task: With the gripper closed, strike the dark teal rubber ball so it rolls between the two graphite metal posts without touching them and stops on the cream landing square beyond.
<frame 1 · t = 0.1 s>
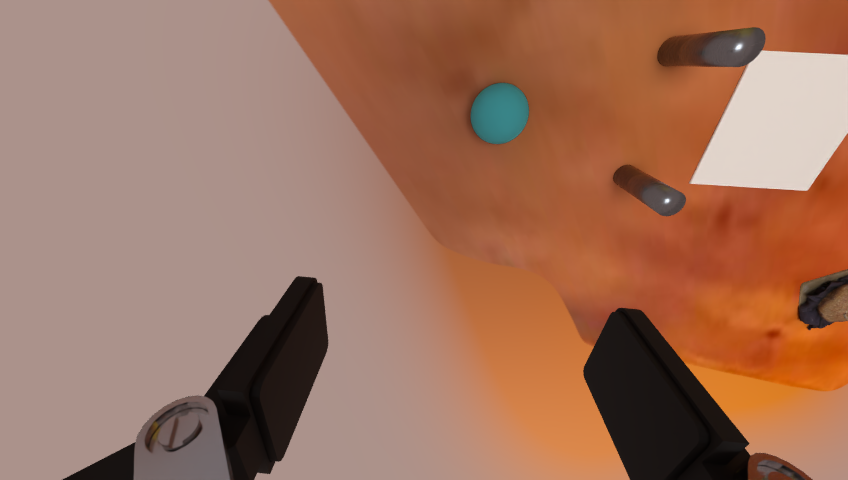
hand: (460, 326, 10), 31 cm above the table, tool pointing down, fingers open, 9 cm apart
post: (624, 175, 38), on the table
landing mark: (782, 126, 35), on the table
ball: (499, 114, 33), on the table
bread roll: (825, 295, 46), on the table
post 2: (671, 51, 32), on the table
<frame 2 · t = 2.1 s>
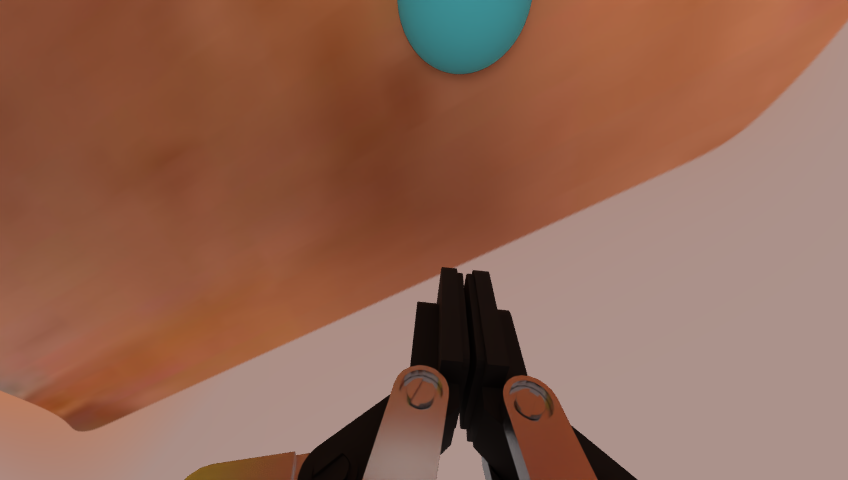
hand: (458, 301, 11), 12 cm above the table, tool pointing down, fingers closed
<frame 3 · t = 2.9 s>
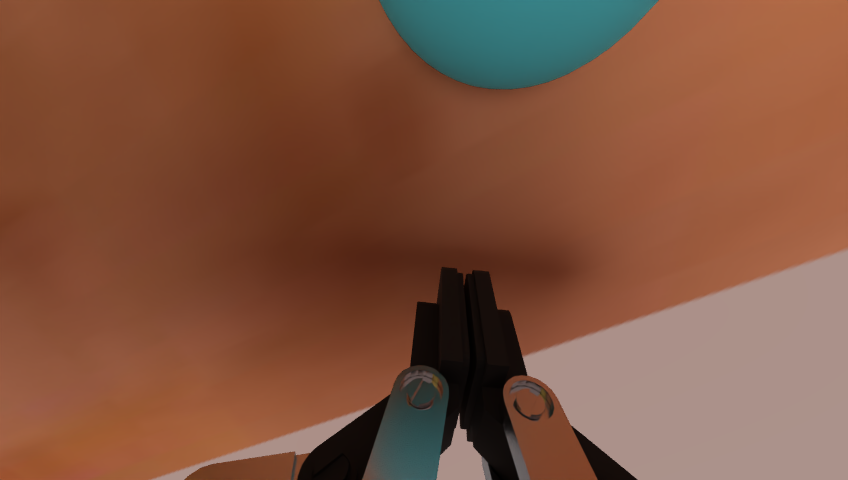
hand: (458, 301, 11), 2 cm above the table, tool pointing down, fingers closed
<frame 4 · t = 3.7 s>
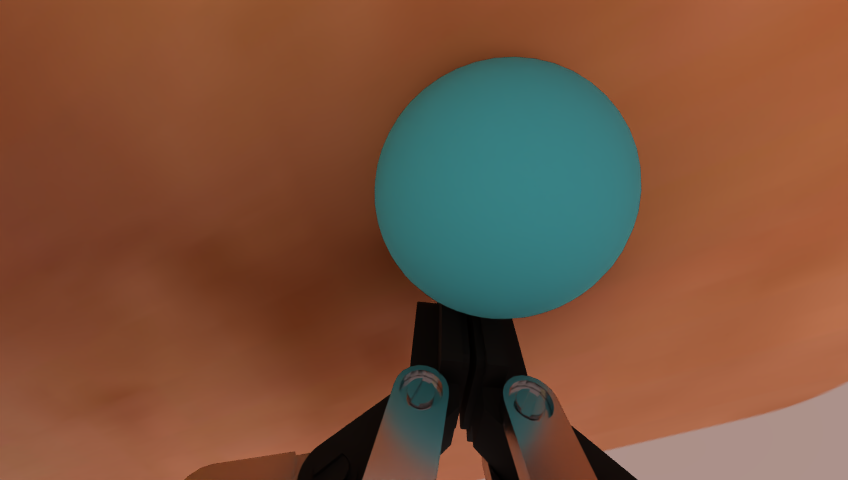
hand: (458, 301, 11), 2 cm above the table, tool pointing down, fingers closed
ball: (495, 195, 8), on the table
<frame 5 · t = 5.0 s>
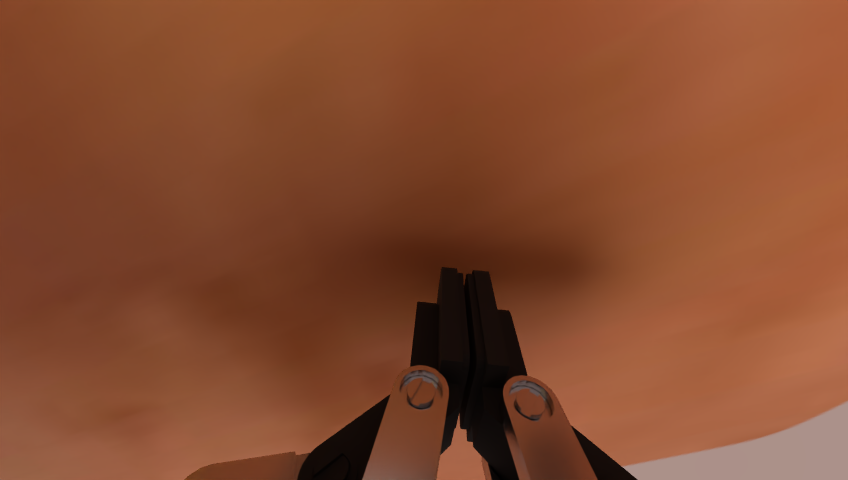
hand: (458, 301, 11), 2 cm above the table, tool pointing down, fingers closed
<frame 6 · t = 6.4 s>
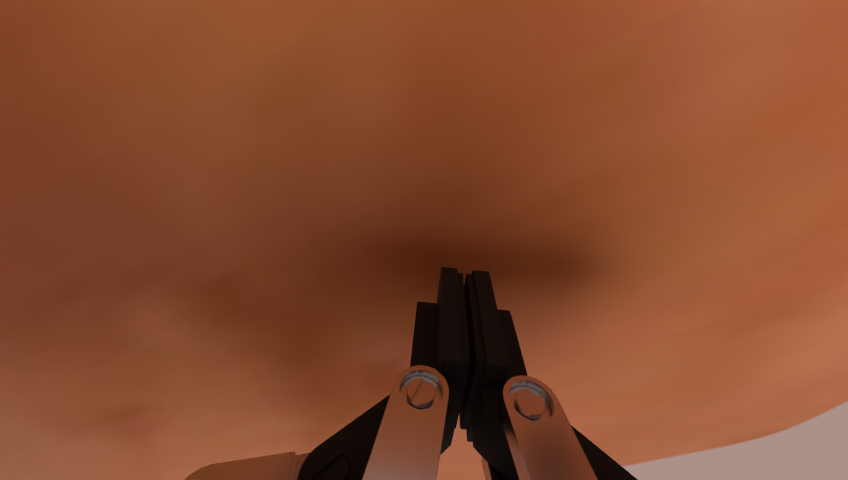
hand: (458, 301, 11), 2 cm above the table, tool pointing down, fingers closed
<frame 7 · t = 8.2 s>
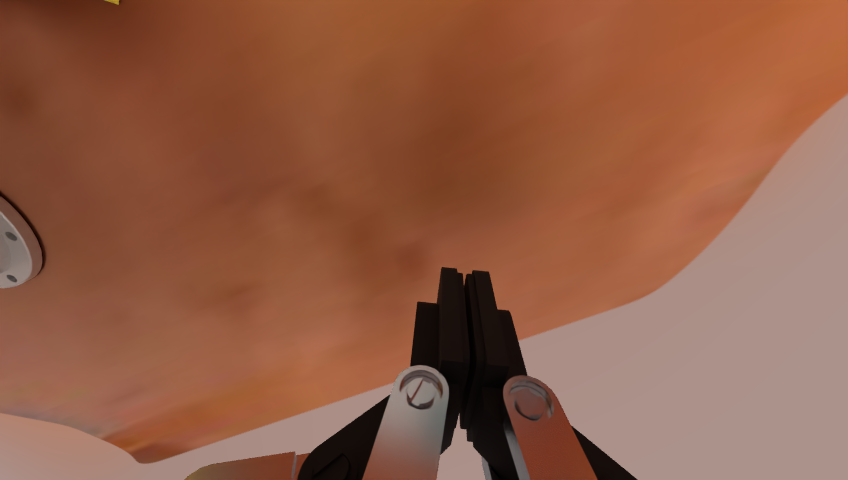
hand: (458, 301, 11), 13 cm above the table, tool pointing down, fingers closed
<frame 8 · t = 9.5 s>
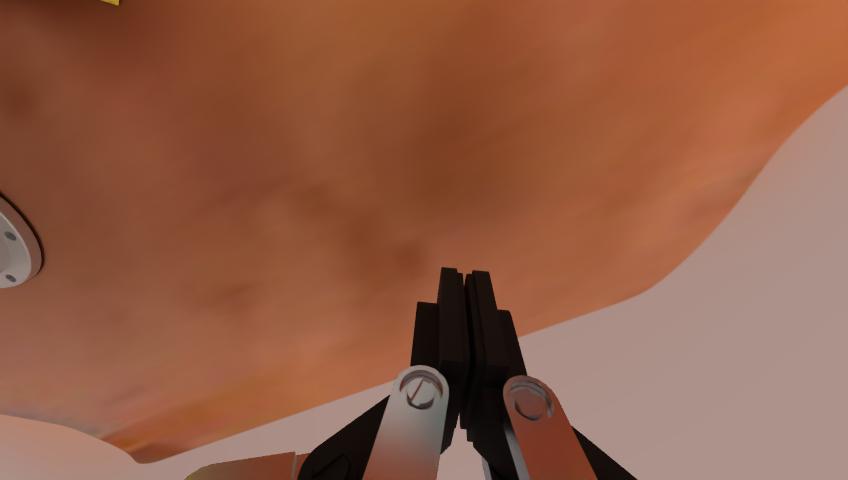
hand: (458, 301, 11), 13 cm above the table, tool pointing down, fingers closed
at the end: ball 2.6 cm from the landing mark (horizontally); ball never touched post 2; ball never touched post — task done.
